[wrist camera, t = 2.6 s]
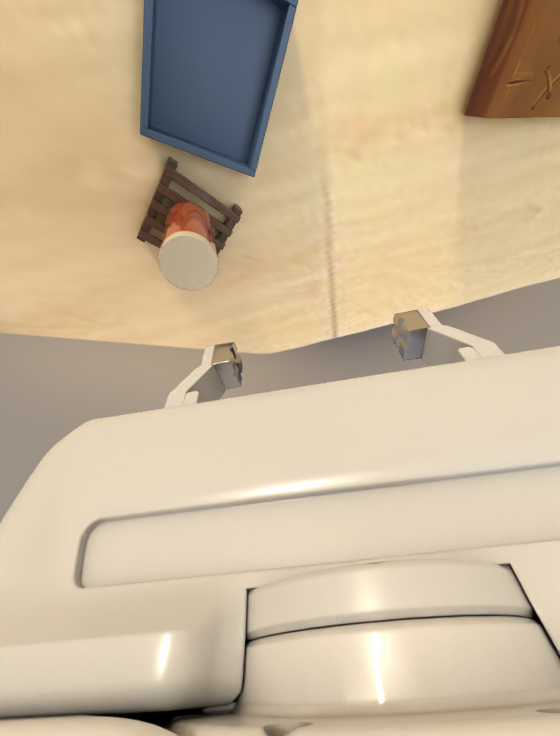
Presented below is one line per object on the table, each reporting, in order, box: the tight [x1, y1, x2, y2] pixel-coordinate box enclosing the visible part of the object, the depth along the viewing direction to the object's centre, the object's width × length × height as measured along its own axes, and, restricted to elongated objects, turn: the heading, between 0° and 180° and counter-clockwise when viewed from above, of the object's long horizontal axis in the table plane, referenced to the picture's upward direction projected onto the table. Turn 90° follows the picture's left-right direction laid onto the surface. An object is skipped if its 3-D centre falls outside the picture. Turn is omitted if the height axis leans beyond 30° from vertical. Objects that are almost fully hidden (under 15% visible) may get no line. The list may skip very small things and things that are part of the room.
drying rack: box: [137, 157, 242, 258], centre depth 39 cm, size 10×10×2 cm
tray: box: [140, 0, 298, 177], centre depth 29 cm, size 14×12×4 cm
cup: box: [158, 202, 218, 290], centre depth 34 cm, size 6×6×12 cm
